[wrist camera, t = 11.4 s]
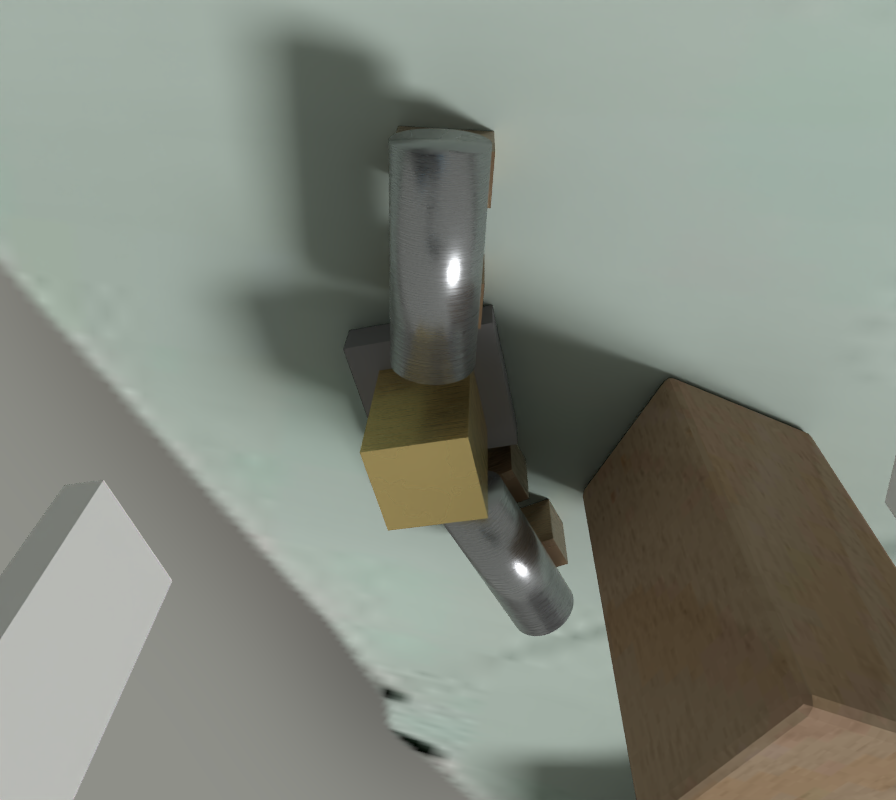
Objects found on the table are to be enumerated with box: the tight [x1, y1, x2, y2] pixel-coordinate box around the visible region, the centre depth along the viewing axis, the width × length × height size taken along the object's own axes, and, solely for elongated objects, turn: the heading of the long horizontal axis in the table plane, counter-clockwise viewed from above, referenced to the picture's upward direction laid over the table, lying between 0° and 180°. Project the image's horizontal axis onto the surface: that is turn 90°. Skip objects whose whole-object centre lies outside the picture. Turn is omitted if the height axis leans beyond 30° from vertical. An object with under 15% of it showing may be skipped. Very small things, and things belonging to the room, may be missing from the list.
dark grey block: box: [343, 305, 518, 449], centre depth 38 cm, size 8×8×2 cm
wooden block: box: [583, 378, 896, 800], centre depth 34 cm, size 10×10×20 cm
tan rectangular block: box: [360, 369, 488, 530], centre depth 35 cm, size 5×5×7 cm
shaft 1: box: [389, 126, 495, 385], centre depth 31 cm, size 10×4×8 cm, turn 178°
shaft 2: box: [444, 444, 573, 636], centre depth 41 cm, size 10×4×8 cm, turn 28°
